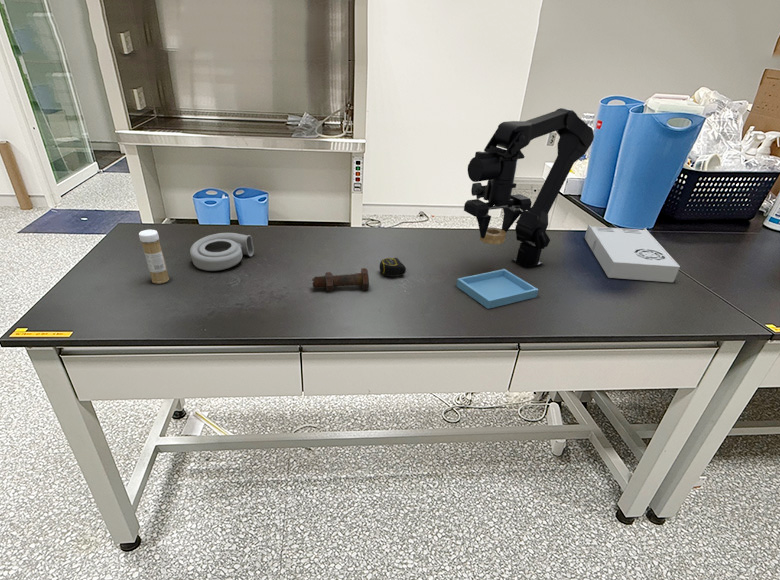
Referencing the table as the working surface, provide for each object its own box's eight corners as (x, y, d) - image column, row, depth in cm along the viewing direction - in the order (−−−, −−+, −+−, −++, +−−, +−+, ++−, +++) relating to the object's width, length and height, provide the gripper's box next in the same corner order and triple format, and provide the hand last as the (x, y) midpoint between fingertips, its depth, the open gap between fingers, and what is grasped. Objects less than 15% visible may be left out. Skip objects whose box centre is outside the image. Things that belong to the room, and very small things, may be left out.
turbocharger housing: (182, 270, 144) (226, 280, 140) (176, 249, 140) (221, 258, 136) (217, 246, 156) (258, 254, 152) (213, 226, 152) (255, 234, 147)
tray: (503, 276, 146) (504, 268, 144) (536, 297, 136) (538, 289, 134) (456, 286, 140) (457, 278, 138) (487, 309, 130) (489, 301, 128)
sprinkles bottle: (169, 276, 138) (157, 228, 130) (169, 283, 135) (157, 234, 127) (151, 278, 137) (138, 229, 129) (151, 285, 134) (138, 236, 125)
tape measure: (406, 277, 143) (407, 265, 141) (383, 280, 141) (384, 267, 139) (398, 268, 148) (399, 255, 146) (376, 270, 146) (376, 258, 144)
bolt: (313, 294, 137) (367, 290, 138) (313, 293, 132) (369, 289, 133) (311, 272, 136) (366, 269, 137) (311, 270, 131) (367, 266, 132)
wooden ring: (494, 234, 145) (495, 225, 143) (509, 242, 140) (511, 234, 138) (474, 237, 142) (476, 228, 141) (489, 245, 137) (491, 237, 136)
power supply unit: (639, 241, 172) (644, 227, 169) (673, 282, 146) (680, 266, 143) (584, 238, 173) (588, 223, 170) (608, 278, 147) (613, 262, 144)
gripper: (512, 167, 140) (502, 223, 149) (456, 172, 133) (449, 230, 142) (538, 177, 132) (525, 235, 141) (480, 183, 125) (471, 244, 135)
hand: (492, 236), depth 140 cm, fingers closed on wooden ring, 7 cm apart
